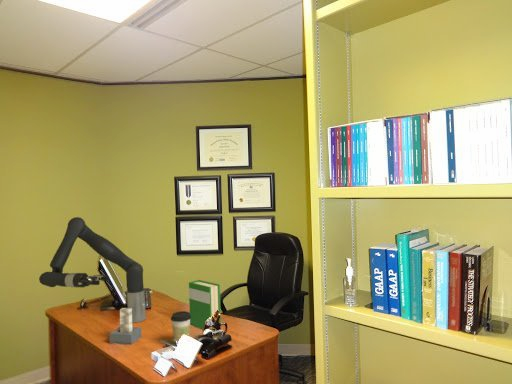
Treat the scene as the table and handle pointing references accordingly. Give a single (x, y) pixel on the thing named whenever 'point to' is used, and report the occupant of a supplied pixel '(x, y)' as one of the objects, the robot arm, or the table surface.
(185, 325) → the coffee cup
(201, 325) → the hardback book
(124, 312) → the marbled white block
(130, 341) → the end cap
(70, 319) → the table surface
